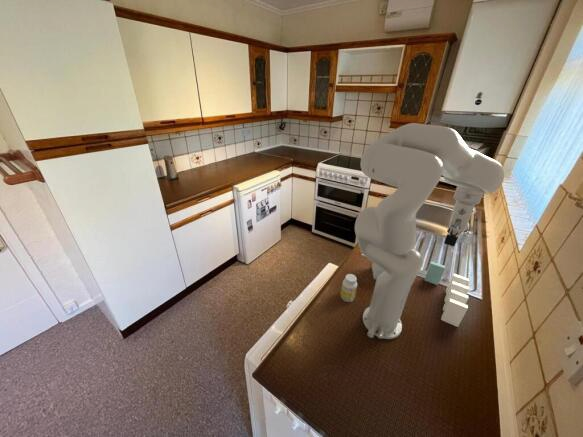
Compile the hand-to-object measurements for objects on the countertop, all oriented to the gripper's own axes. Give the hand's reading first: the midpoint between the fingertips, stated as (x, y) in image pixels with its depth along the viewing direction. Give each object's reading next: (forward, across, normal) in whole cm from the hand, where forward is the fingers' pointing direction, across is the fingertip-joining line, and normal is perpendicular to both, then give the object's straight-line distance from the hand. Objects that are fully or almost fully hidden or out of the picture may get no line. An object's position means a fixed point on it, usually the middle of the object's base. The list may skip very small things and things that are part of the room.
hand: (450, 238), depth 88 cm
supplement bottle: (+21, -29, +25) cm, 44 cm away
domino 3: (+22, -8, -7) cm, 24 cm away
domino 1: (+22, 0, +1) cm, 22 cm away
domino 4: (+21, -13, -8) cm, 26 cm away
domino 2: (+22, -3, -7) cm, 23 cm away
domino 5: (+21, -18, -8) cm, 29 cm away
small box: (+22, -9, +20) cm, 31 cm away
